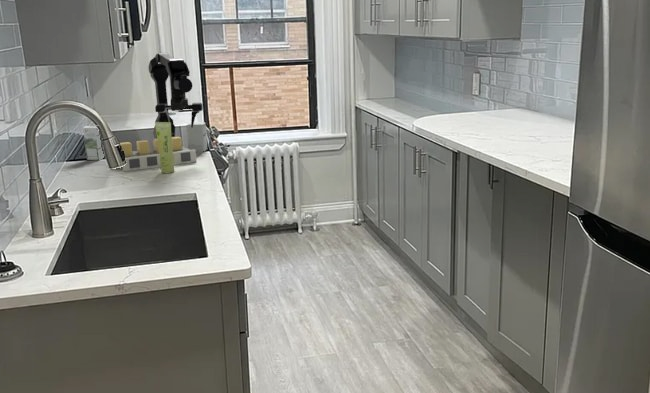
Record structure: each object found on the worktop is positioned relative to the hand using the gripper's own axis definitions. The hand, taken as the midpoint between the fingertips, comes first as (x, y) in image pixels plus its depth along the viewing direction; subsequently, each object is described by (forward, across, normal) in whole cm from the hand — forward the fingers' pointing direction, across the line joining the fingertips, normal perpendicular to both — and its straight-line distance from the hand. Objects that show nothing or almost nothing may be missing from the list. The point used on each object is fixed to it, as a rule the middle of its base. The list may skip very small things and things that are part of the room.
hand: (180, 127), depth 256 cm
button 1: (+11, -3, +4) cm, 12 cm away
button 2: (+11, -9, +1) cm, 15 cm away
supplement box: (+14, +4, +20) cm, 25 cm away
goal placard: (+14, -8, -11) cm, 19 cm away
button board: (+14, -13, -1) cm, 19 cm away
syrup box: (+14, -38, +9) cm, 42 cm away
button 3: (+11, -16, -2) cm, 19 cm away
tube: (+14, -4, -22) cm, 26 cm away
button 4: (+11, -22, -5) cm, 25 cm away
